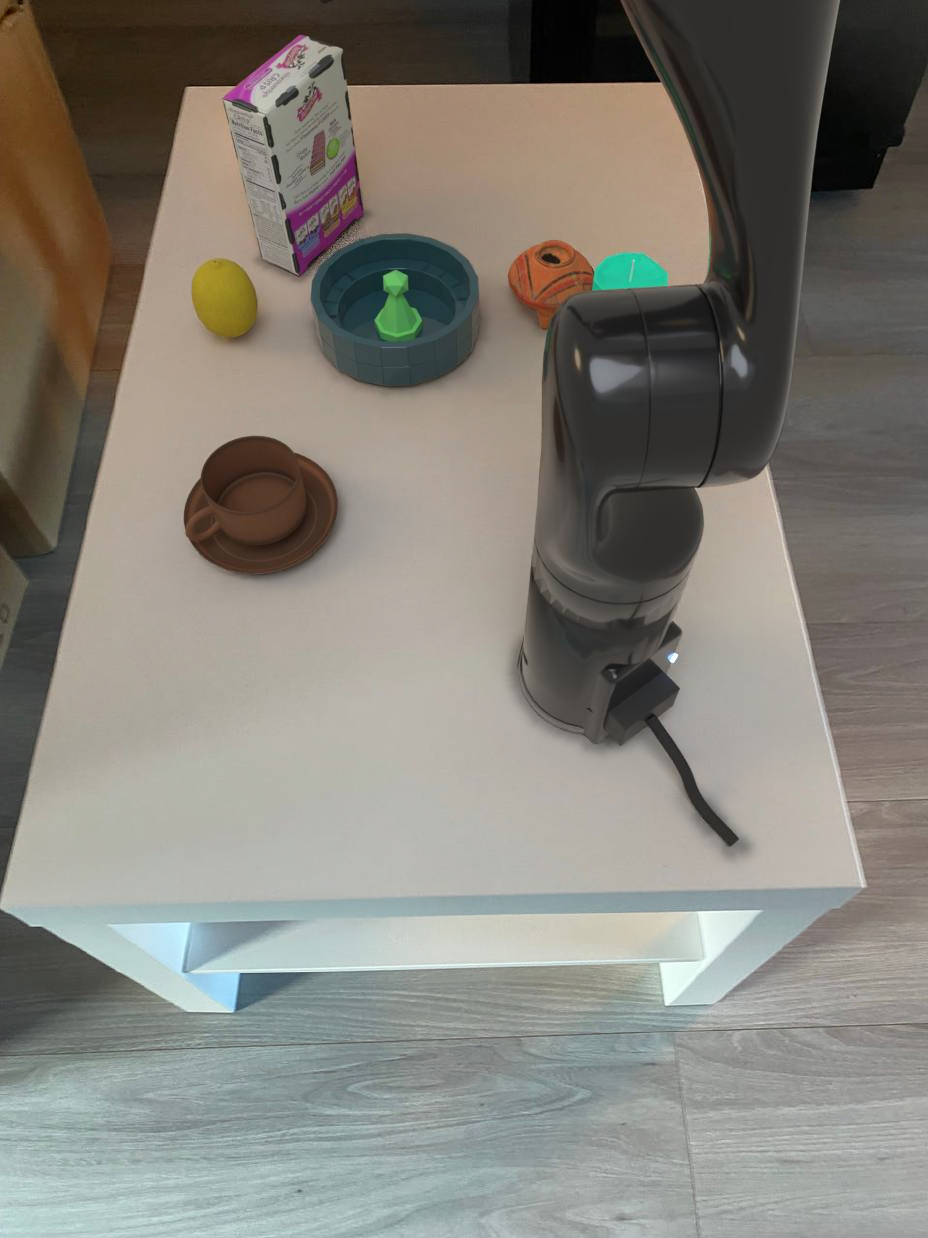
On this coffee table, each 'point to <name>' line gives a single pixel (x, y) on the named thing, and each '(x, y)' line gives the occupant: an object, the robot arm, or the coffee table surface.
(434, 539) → the coffee table surface
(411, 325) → the game piece
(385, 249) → the bowl
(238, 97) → the candy bar box
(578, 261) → the pot
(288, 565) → the cup and saucer
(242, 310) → the lemon
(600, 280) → the candle
